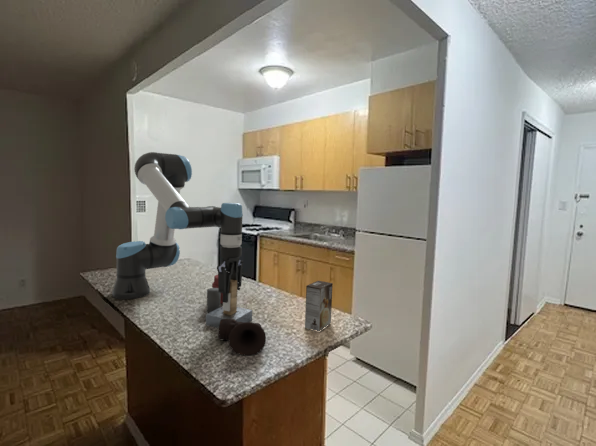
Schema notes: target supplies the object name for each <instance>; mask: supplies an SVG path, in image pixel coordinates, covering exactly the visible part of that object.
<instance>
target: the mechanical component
mask: <svg viewBox="0 0 596 446" xmlns="http://www.w3.org/2000/svg"><path fill="white" fill-rule="evenodd" d="M213 280H214V281H213V282H212V283H211V288H218V274H215V275H214V277H213ZM221 304H222V305H223V293H221V299H220V305H221Z"/></svg>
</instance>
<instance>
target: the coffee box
mask: <svg viewBox="0 0 596 446" xmlns="http://www.w3.org/2000/svg"><path fill="white" fill-rule="evenodd" d="M305 287H306V289H305V311H304V313H305V315H304V317H305V320H304V329H306V328H308V329H307V330H309V329H313V330H317V331H320V330H322V329H323V328H324V327H326V326H327V325H329V324H330V323H331V324H332V307H333V304H332V302H333V282H329V281H322V280H316V281H314V282H312V283H309V284H307V285H306V286H305ZM329 326H330V325H329ZM326 328H327V327H326ZM313 330H312V331H313ZM322 331H323V330H322Z"/></svg>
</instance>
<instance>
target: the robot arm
mask: <svg viewBox="0 0 596 446" xmlns="http://www.w3.org/2000/svg"><path fill="white" fill-rule="evenodd" d="M134 174H135V177H136V178H137V179H138V181H139V182H140V183H141V184H143V185H145V186H146V187H147V188H148V189H149V191H150V192H151V194H152V195H153V196H154V198H155V199H156V200H157V207H156V216H155V224H154V233H153V235H152V236H151V237H150V238H149V243H146V242H145V241H143V240H142V241H141V240H136V241H135V240H134V241H129V242H124V243H122V244H120V245H118V246H117V247H116V255H115V258H116V261H115V262H116V280H115V283H114V285H113V289H112V292H111V293H112V295H111V296H112V297H113V298H115V299H118V300H131V299H140V298H143V297H146V296H148V295H149V294H150V292H151V290H150V289H151V288H150V285H149V282H148V278H147V276H146V270H151V269H158V268H167V267H171V266H174V265H175V264H176V263H177V262H178V260H179V258H180V254H181V253H180V252H181V250H180V245H179V243H177V240H176V239H175V238H174V236H175V230H184V229H185V230H188V229H197V228H199V229H200V228H201V229H203V228H220V239H219V240H220V242H219V243H220V245H221V246H220V253H219V254H220V257H221V258H222V260H221V261H222V262H221V265H218V266H216V270H217V275H218V288H219V292H220V293H223V304H222V306H223V310H225V311H230V300H231V293H229V289H230V281H231V280H237V291H240V290H241V287H242V280H243V266H244V264H245V263H244V260H241V259H240V257H242V253H243V251H242V250H243V249H242V246H241V245H242V244H243V243H242V242H243V241H242V240H243V238H242V237H243V236H242V235H243V234H242V233H243V216H244V215H243V206H242V203H238V202H222V203H221V206H219V207H218V206H213V205H212V206H190V205H189V204H188V202H186V201H185V199H184V198H183V196H181V195H180V194H181V190H182V189H183V188H185V185H186V184H185V183H188V182H190V180H191V179H192V177H193V176H192V175H193V169H192V164H191V162H190V160H189V159H188V157H186V156H184V155H180V154H175V153H174V154H172V153H166V152H165V153H164V152H163V153H162V152H154V151H153V152H152V151H151V152H146V153H143V154H142V155H141V156H139V157H138V159H137V160H136V161H135V163H134Z"/></svg>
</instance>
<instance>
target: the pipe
mask: <svg viewBox="0 0 596 446" xmlns="http://www.w3.org/2000/svg"><path fill="white" fill-rule="evenodd" d="M217 333H218V334H217V336H218V339H219V340H221V341H222V340H223V341H225V340H226V341H228V344H229V347H230V348H231V350H232V351H233V352H234V353H235V354H238V355H241V356H245V357H247V356H248V357H249V356H250V357H251V356H255V355H257V354H259V353H260V352H261V351H262V350H263V349H264V347H265V345H266V343H267V342H266V341H267V340H266V339H267V336H266V332H265V329H263V327H262V325H261V323H260V322H259V323H258V322H253V321H250V322H244V323H243V322H238V321H236V320H234V319H221V320H220V324H219V328H218V332H217Z"/></svg>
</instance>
